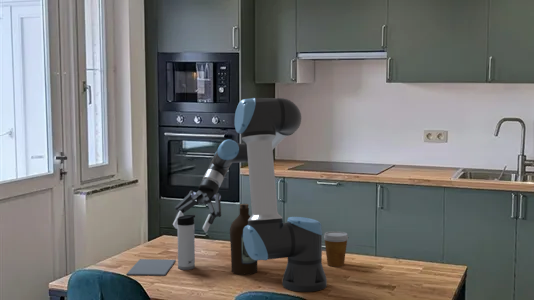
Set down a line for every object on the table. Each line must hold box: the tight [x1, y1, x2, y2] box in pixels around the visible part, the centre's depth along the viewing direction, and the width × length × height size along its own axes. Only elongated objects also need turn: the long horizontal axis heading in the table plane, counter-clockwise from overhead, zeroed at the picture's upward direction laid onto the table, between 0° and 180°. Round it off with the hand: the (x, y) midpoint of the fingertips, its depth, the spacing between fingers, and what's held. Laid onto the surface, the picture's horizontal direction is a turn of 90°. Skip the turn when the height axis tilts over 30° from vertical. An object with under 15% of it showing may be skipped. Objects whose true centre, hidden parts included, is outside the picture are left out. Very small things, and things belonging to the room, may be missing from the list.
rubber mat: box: [126, 258, 176, 277], centre depth 248 cm, size 20×14×1 cm
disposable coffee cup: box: [322, 231, 349, 268], centre depth 252 cm, size 10×10×12 cm
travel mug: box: [176, 214, 196, 271], centre depth 248 cm, size 6×7×20 cm
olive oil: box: [229, 203, 259, 276], centre depth 242 cm, size 11×11×25 cm
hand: (189, 228), depth 250 cm, fingers open, 13 cm apart
